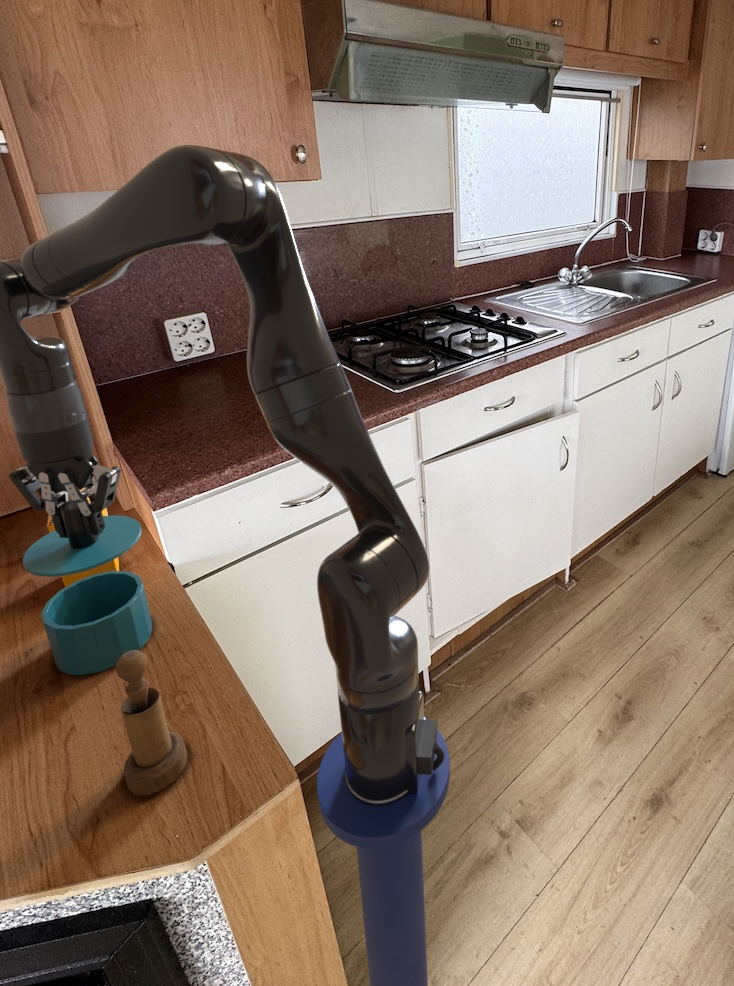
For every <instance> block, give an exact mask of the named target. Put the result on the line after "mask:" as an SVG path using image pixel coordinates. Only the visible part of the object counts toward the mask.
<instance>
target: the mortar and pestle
mask: <svg viewBox="0 0 734 986" xmlns="http://www.w3.org/2000/svg"><path fill="white" fill-rule="evenodd" d="M147 666H148V657H147V656H146V654H145V653H144V652H143V651H141V650H139V651H138V650H132V651H129V652H126V653H125V654H123V655H122V656H121V657H120V658H119V660H118V662H117V665H116V666H115V672H116V675H117V677H119V678H120V679H121V680H123V681H125V682H127V685H126V687H125V688H124V691H125V694H126V696H127V697H126V698H125V699H124V700H123V701H122V703H121V706H120V712H121V715H122V718H123V722H124V725H125V730H126V733H127V736H128V739H129V743H130V744H129V745H130V747H131V750H132V751H131V752H130V753H129V754H128V756H127V758H126V760H125V763H124V764H123V765H124V766H123V775H124V779H125V783H126V785H127V788H128V790H129V791H130V793H132V794H134V795H136V796H142V797H143V796H150V795H154V794H157V793H159V792H160V791H163V790H165V789H166V788H167V787H169V786H170V785H172V784H173V783H174V782H175V781H176V780H177V779H178V778H179V777H180V776H181V774H182V773H183V771H184V770H185V768H186V764H187V761H188V752H187V748H186V743H185V741H184V738H183V737H182V736H181V735H180V734H179V733H178V732H175V731H169V727H168V723H167V719H166V715H165V712H164V707H163V702H162V698H161V694H160V691H159V690H158V689H157V688H154V687H149V680H148V679H147V678H146V677H143V675H144V673H145V671H146V669H147Z"/></svg>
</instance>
